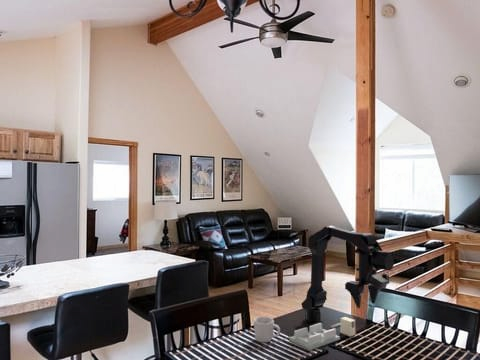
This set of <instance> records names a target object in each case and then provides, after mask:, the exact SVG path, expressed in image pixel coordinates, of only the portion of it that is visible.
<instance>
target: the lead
mask: <svg viewBox="0 0 480 360" xmlns="http://www.w3.org/2000/svg"><path fill="white" fill-rule="evenodd" d="M329 327H330V328H331V329H333V328H336V327H341V322H339V323H336V324H335V323H334V324H331V325H330V326H329Z"/></svg>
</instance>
